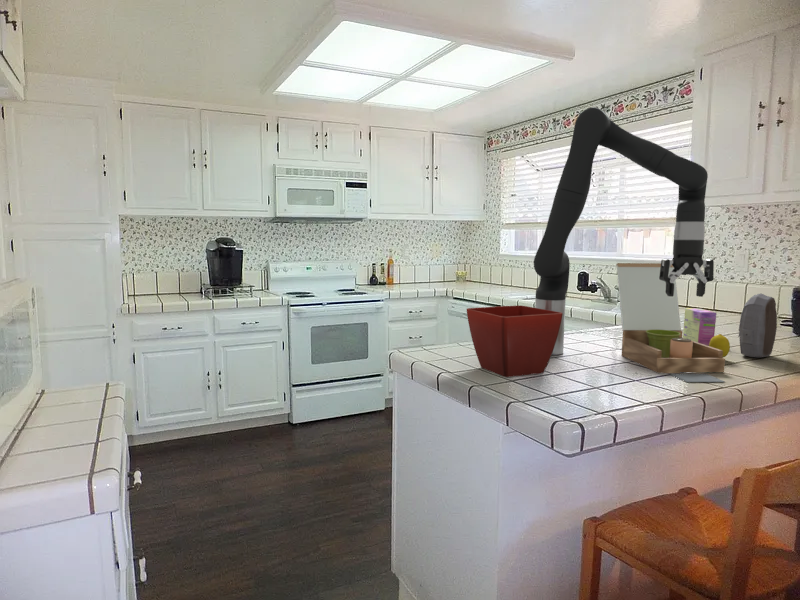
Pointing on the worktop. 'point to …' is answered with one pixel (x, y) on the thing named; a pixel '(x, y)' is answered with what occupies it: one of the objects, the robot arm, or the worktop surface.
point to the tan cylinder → (681, 348)
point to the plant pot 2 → (662, 340)
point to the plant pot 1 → (514, 338)
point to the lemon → (720, 344)
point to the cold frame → (650, 357)
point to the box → (699, 325)
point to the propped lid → (646, 298)
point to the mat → (697, 378)
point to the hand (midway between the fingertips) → (684, 296)
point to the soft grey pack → (758, 326)
